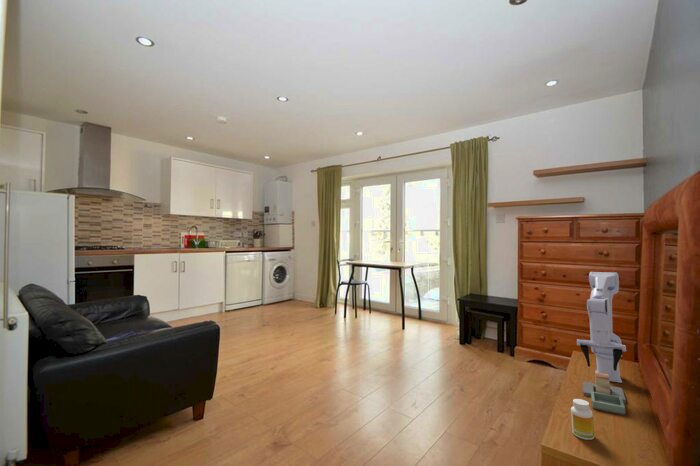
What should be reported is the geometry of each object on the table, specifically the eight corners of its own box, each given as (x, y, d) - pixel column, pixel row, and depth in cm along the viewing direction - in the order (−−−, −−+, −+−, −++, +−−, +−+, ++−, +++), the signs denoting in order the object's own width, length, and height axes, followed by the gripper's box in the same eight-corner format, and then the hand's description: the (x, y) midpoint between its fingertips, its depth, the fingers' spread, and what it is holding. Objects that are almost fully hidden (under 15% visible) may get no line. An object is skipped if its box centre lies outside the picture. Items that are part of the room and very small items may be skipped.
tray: (591, 398, 116) (590, 391, 116) (622, 404, 111) (621, 396, 111) (592, 408, 109) (592, 401, 109) (625, 415, 104) (625, 407, 104)
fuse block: (595, 390, 122) (594, 372, 122) (609, 393, 119) (608, 374, 120) (596, 395, 118) (595, 375, 119) (610, 397, 116) (609, 378, 116)
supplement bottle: (598, 441, 92) (596, 406, 92) (577, 439, 93) (575, 405, 93) (588, 430, 97) (586, 398, 97) (568, 429, 98) (566, 396, 98)
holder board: (582, 384, 127) (582, 381, 127) (621, 391, 120) (621, 387, 121) (583, 395, 118) (583, 392, 118) (626, 403, 112) (625, 400, 112)
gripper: (576, 329, 121) (578, 366, 120) (626, 335, 113) (628, 374, 112) (575, 326, 127) (577, 362, 126) (623, 331, 119) (625, 369, 117)
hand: (601, 367), depth 119 cm, fingers open, 7 cm apart
